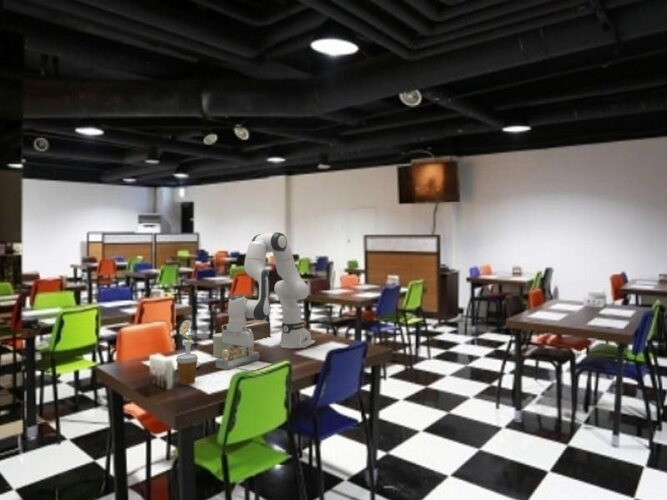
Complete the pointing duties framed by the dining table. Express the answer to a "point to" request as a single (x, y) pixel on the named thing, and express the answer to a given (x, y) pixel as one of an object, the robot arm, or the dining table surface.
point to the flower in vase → (187, 343)
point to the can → (219, 345)
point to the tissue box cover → (259, 329)
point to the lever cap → (238, 352)
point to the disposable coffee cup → (187, 368)
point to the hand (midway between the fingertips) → (238, 353)
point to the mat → (254, 366)
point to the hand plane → (236, 359)
